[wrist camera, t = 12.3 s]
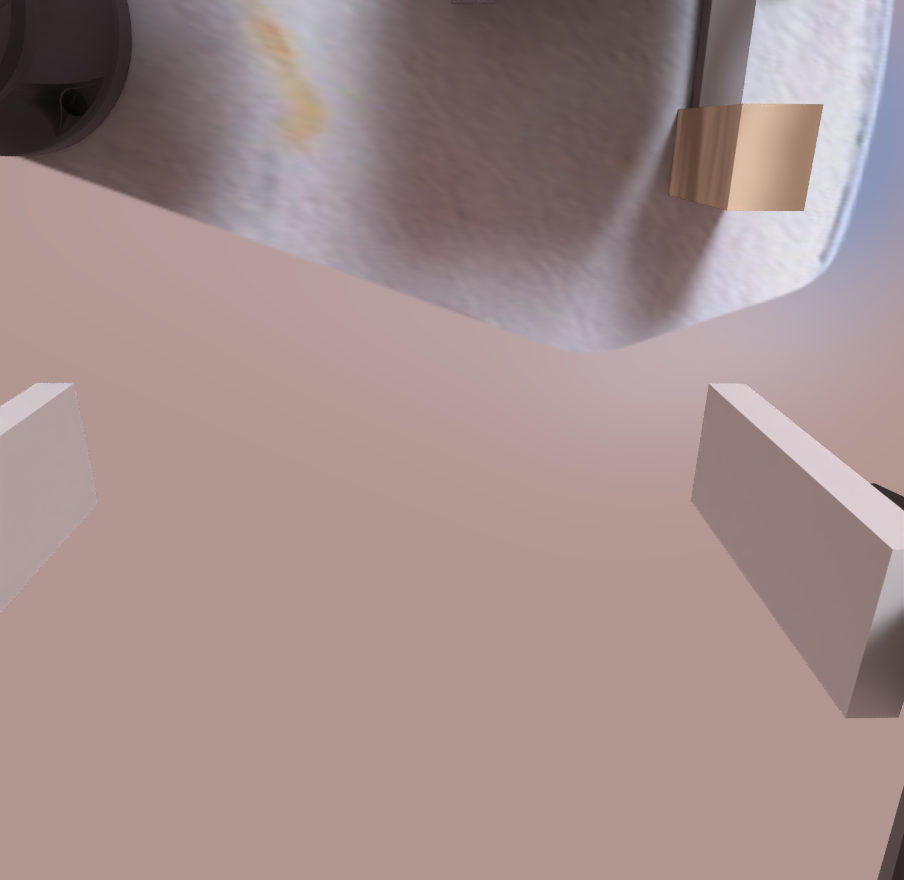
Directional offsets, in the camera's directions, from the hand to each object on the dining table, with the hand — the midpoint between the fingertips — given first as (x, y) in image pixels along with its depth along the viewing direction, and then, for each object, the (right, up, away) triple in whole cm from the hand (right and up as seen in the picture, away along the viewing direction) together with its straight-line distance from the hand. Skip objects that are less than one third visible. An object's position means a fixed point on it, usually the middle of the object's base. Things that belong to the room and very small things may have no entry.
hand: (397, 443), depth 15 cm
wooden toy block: (+17, +25, +27) cm, 41 cm away
